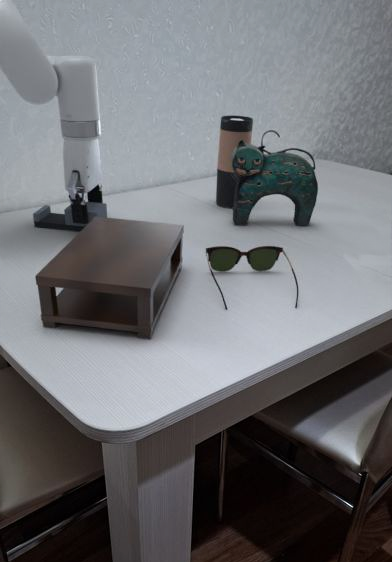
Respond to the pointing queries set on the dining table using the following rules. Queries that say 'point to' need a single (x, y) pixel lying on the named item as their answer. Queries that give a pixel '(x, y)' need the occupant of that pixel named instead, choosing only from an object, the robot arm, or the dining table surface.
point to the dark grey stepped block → (67, 217)
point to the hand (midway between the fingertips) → (88, 215)
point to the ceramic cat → (273, 180)
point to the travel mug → (230, 155)
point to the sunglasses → (256, 257)
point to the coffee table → (112, 275)
